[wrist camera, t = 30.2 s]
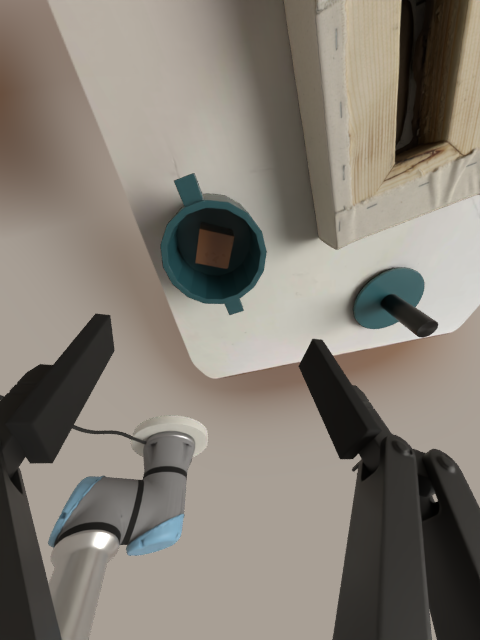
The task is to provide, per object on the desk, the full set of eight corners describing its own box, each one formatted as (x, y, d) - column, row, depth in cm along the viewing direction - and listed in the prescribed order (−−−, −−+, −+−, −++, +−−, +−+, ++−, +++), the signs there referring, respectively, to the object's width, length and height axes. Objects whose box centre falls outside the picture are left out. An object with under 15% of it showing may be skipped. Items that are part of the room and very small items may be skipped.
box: (455, 185, 36) (535, -243, 18) (507, 189, 29) (713, -473, 11) (317, 241, 39) (265, -74, 21) (337, 255, 33) (287, -179, 15)
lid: (351, 333, 52) (382, 368, 42) (351, 279, 43) (389, 308, 34) (414, 314, 50) (459, 346, 41) (425, 256, 42) (485, 279, 33)
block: (197, 253, 37) (195, 263, 33) (201, 221, 34) (199, 228, 30) (225, 258, 38) (227, 269, 34) (231, 229, 35) (234, 236, 31)
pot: (199, 299, 42) (196, 328, 35) (147, 192, 32) (125, 199, 24) (266, 277, 41) (278, 302, 33) (235, 158, 30) (243, 153, 23)
